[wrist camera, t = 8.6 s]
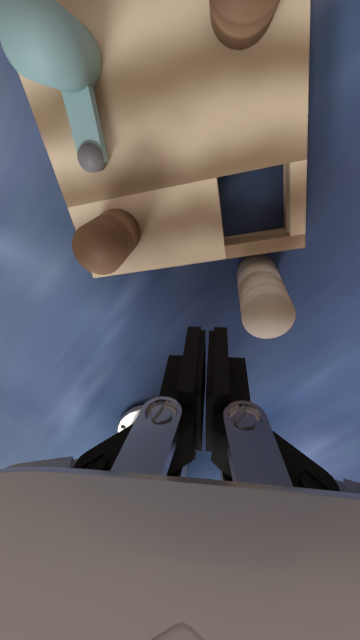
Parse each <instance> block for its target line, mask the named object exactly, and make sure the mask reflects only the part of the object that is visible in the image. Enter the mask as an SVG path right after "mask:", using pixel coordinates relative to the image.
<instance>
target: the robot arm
mask: <svg viewBox="0 0 360 640" xmlns="http://www.w3.org/2000/svg"><path fill="white" fill-rule="evenodd" d="M204 395H205V330H201V327H188V330H187V336H186V342H185V348H184V354H183V356H178V355H170V356H169V358H168V362H167V366H166V370H165V374H164V379H163V383H162V387H161V391H160V395H159V397H155V398H153V399H150V400H149V401H147V402H146V403H145V404H144V405H139V406H136V407H133V408H131V409H130V410H128V411H127V412H126V413H125V414H123V416H122V417H121V419H120V422H119V425H118V433H117V434H115V435H114V436H112V437H110V438H109V439H107V440H105V441H104V442H102V443H100V444H99V445H97V446H95V447H94V448H92V449H90V450H89V451H87V452H86V453H84V454H83V455H82V456H80V458H79V459H73V457H72V456H70V457H63V458H56V459H49V460H42V461H34V462H27V463H20V464H15V465H12V466H9V467H7V468H6V469H0V640H360V483H358V482H354V481H351V480H347V479H344V478H343V481H342V482H341V481H338V480H334V478H333V477H332V476H331V475H330V474H329V473H328V472H327V471H325V470H324V469H323V468H321V467H320V466H319V465H317V464H316V463H315V462H313V461H312V460H311V459H309V458H308V457H307V456H305V455H304V454H303V453H301V452H300V451H299V450H297V449H296V448H295V447H293V446H292V445H291V444H289V443H288V442H287V441H285V440H284V439H283V438H281V437H280V436H279V435H277V434H276V433H275V432H273V431H272V429H271V426H270V424H269V421H268V418H267V416H266V414H265V412H264V410H263V409H262V408H261V407H259V406H258V405H256V404H254V403H252V402H250V394H249V386H248V378H247V370H246V363H245V358H233V357H228V342H227V328H223V327H214V331H212V330H209V346H208V366H207V386H206V451H212V453H211V461H212V462H213V463H214V464H215V465H216V466H217V467H218V468H219V469H220V470H221V480H211V479H200V478H188V477H186V469H187V464H188V463H190V462H191V461H192V460H193V459H195V456H196V451H197V450H200V451H201V447H202V430H203V412H204Z"/></svg>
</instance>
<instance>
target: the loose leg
mask: <svg viewBox="0 0 360 640" xmlns="http://www.w3.org/2000/svg"><path fill="white" fill-rule="evenodd" d="M236 276H237V284H238V292H239V301H240V309H241V317H242V323H243V326H244V328H245V329H246V330H247V331H248V332H249V333H250V334H251V335H253V336H255V337H258V338H263V339H270V338H275V337H278V336H281V335H283V334H284V333H286V332H287V331H288V330H289V329H290V328H291V327H292V325H293V323H294V321H295V317H296V311H295V308H294V306H293V303H292V301H291V299H290V297H289V294H288V292H287V290H286V288H285V286H284V283H283V281H282V279H281V277H280V274H279V272H278V270H277V268H276V266H275V263H274V262H273V260H272V259H271V258H269V257H268V256H266V255H262V254H258V255H251V256H248V257H246V258H245V259H243V260H242V261H241V263H240V264H239V266H238V268H237V272H236Z"/></svg>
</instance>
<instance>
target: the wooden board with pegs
mask: <svg viewBox="0 0 360 640" xmlns="http://www.w3.org/2000/svg"><path fill="white" fill-rule="evenodd" d="M56 1H57V2H58V3H59V4H61V5H62V6H63V7H64V8H65V9H66V10H68V11H69V12H70V13H71V14H72V15H73V16H74V17H76V18H77V19H78V20H79V21H80V22H81V23H83V24H84V25H85V26H86V27H87V28H88V29H89V30H90V32H91V33H92V34H93V36H94V38H95V40H96V42H97V44H98V47H99V51H100V56H101V71H100V76H99V79H98V81H97V83H96V85H95V86H94V88H93V89H94V94H95V99H96V103H97V108H98V113H99V118H100V122H101V127H102V132H103V136H104V141H105V146H106V151H107V155H108V160H109V162H108V163H107V166H106V168H105V169H104V170H102V171H99V172H95V173H90V172H87V171H85V170H84V169H83V168H82V167H81V166H80V164H79V162H78V158H77V150H76V147H75V143H74V139H73V135H72V131H71V127H70V123H69V119H68V116H67V112H66V108H65V104H64V100H63V96H62V92H61V91H60V90H57V89H54V88H51V87H48V86H45V85H42V84H39V83H36V82H33V81H31V80H29V79H27V78H25V77H24V76H22V75H21V74H20V73H19V72H18V73H19V76H20V79H21V81H22V84H23V87H24V90H25V92H26V95H27V98H28V101H29V103H30V106H31V109H32V112H33V114H34V117H35V120H36V123H37V125H38V128H39V131H40V133H41V136H42V139H43V142H44V144H45V147H46V150H47V153H48V155H49V158H50V161H51V164H52V166H53V169H54V172H55V174H56V177H57V180H58V183H59V185H60V188H61V191H62V194H63V196H64V199H65V202H66V205H67V207H68V210H69V213H70V215H71V218H72V221H73V224H74V226H75V229H76V232H75V234H74V236H73V240H72V248H73V252H74V255H75V257H76V259H77V260H78V262H79V263H80V264H81V265H82V266H83V267H84V268H85V269H87V270H88V271H90V272H91V273H92V276H93V278H98V277H105V276H112V275H119V274H126V273H133V272H140V271H147V270H154V269H161V268H168V267H175V266H182V265H188V264H195V263H202V262H209V261H216V260H223V259H230V258H237V257H244V256H251V255H258V254H265V253H272V252H278V251H285V250H292V249H299V248H305V230H306V184H307V138H308V92H309V46H310V0H56ZM0 2H1V0H0ZM282 164H283V196H284V228H278V229H271V230H265V231H259V232H252V233H246V234H240V235H234V236H227V237H224V232H223V223H222V214H221V206H220V197H219V189H218V180H217V177H222V176H227V175H232V174H237V173H242V172H247V171H252V170H257V169H262V168H267V167H272V166H277V165H282Z"/></svg>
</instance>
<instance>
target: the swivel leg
mask: <svg viewBox="0 0 360 640" xmlns="http://www.w3.org/2000/svg"><path fill="white" fill-rule="evenodd" d="M0 41H1V45H2V47H3V50H4V52H5V54H6V56H7V58H8V60H9V61H10V63H11V64H12V66H13V67H14V68H15V69H16V70H17V71H18V72H19V73H20V74H21V75H22V76H24V77H25V78H27V79H29V80H31V81H33V82H36V83H39V84H42V85H45V86H48V87H51V88H54V89H57V90H60V91H61V92H62V96H63V100H64V104H65V108H66V112H67V116H68V119H69V123H70V127H71V131H72V135H73V139H74V143H75V147H76V150H77V158H78V162H79V164H80V166H81V167H82V168H83V169H84V170H85V171H87V172H90V173H95V172H99V171H102V170H104V169H105V168H106V166H107V163H108V162H109V160H108V155H107V151H106V146H105V141H104V136H103V132H102V127H101V122H100V118H99V113H98V108H97V103H96V99H95V94H94V89H93V88H94V86H95V85H96V83H97V81H98V79H99V76H100V71H101V56H100V51H99V47H98V44H97V42H96V40H95V38H94V36H93V34H92V33H91V32H90V30H89V29H88V28H87V27H86V26H85V25H84V24H83V23H81V22H80V21H79V20H78V19H77V18H76V17H74V16H73V15H72V14H71V13H70V12H69V11H68V10H66V9H65V8H64V7H63V6H62V5H61V4H59V3H58V2H57V1H56V0H1V2H0Z"/></svg>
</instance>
